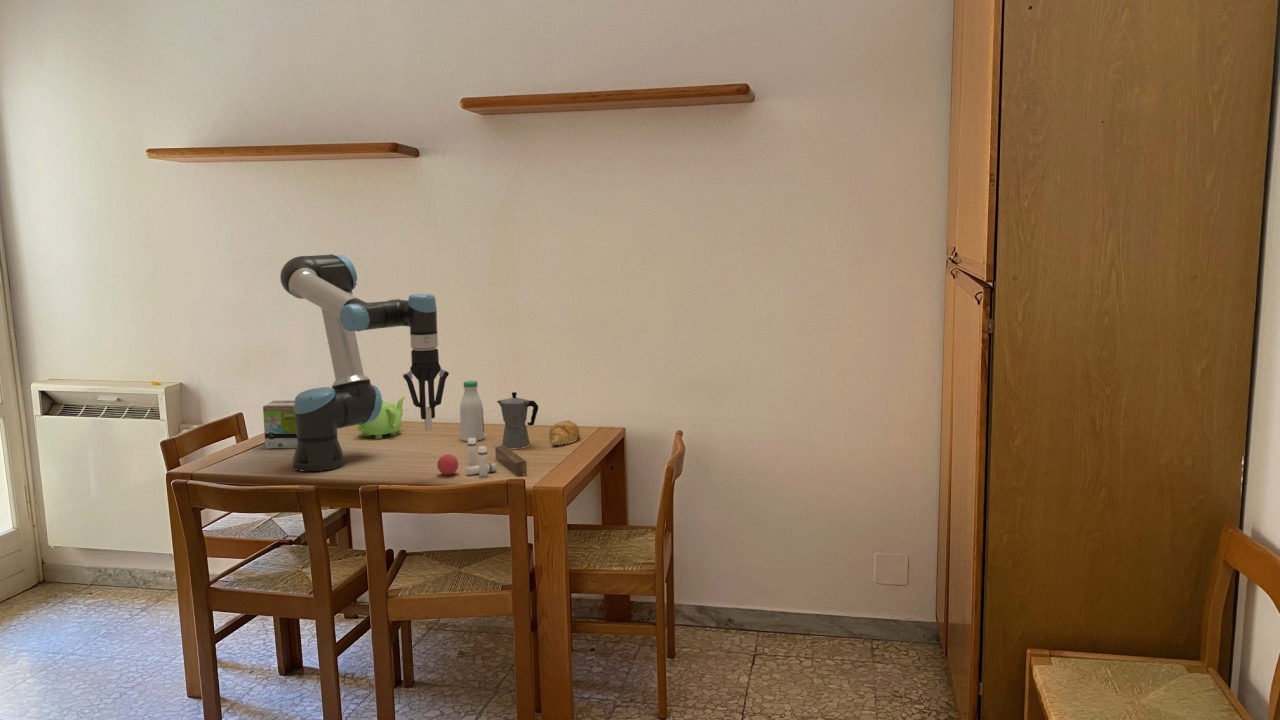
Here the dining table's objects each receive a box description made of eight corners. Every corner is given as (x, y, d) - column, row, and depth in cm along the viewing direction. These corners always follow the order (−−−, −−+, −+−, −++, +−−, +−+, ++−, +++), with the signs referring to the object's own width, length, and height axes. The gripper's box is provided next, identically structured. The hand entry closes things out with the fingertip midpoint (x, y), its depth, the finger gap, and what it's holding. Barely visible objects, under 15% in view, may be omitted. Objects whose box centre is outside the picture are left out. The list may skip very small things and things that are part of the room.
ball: (458, 452, 270) (461, 473, 270) (454, 452, 276) (457, 472, 276) (437, 456, 268) (441, 477, 268) (434, 455, 273) (437, 476, 273)
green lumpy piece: (368, 430, 334) (365, 395, 332) (407, 429, 333) (405, 394, 332) (354, 440, 318) (351, 404, 316) (395, 439, 317) (393, 403, 316)
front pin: (466, 475, 272) (494, 471, 276) (468, 475, 270) (497, 471, 273) (465, 467, 272) (493, 463, 276) (467, 466, 270) (496, 462, 274)
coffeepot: (491, 447, 305) (489, 393, 302) (506, 441, 313) (504, 388, 310) (531, 451, 298) (530, 396, 296) (546, 445, 307) (544, 391, 304)
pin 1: (469, 467, 280) (468, 440, 278) (467, 465, 282) (466, 438, 281) (478, 466, 281) (477, 439, 279) (476, 464, 283) (474, 437, 282)
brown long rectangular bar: (516, 476, 269) (516, 462, 269) (495, 459, 289) (495, 446, 289) (526, 474, 271) (526, 461, 270) (505, 458, 290) (504, 445, 290)
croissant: (562, 458, 303) (573, 438, 301) (536, 443, 304) (546, 423, 302) (581, 442, 323) (591, 423, 321) (556, 428, 324) (566, 408, 322)
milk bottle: (481, 441, 313) (479, 383, 310) (459, 442, 313) (456, 383, 310) (486, 436, 320) (483, 379, 317) (463, 437, 320) (461, 379, 317)
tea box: (264, 449, 306) (261, 405, 304) (275, 442, 316) (272, 399, 314) (311, 448, 307) (308, 404, 305) (320, 441, 317) (317, 399, 315)
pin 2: (480, 477, 269) (479, 448, 268) (477, 475, 271) (476, 446, 270) (489, 476, 270) (487, 447, 269) (486, 473, 272) (485, 445, 271)
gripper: (403, 351, 259) (408, 434, 262) (450, 348, 264) (454, 430, 267) (398, 348, 265) (403, 429, 269) (444, 345, 271) (448, 425, 274)
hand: (428, 429), depth 268 cm, fingers closed
